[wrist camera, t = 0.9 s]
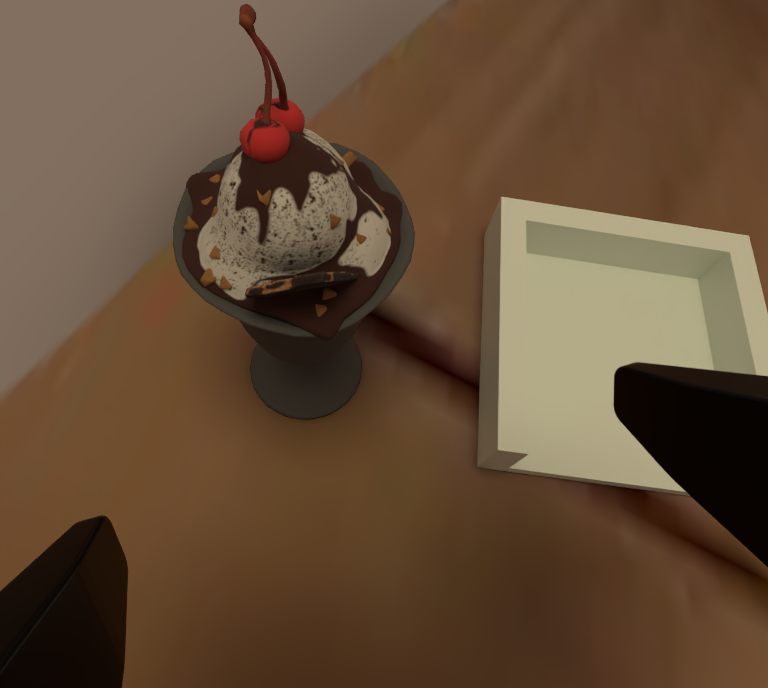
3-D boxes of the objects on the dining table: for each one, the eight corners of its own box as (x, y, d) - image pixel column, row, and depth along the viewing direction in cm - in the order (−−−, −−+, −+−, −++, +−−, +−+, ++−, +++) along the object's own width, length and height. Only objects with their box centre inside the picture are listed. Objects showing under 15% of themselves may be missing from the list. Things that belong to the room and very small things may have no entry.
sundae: (282, 279, 26) (238, -71, 12) (404, 344, 25) (501, 45, 11) (198, 390, 23) (19, 93, 9) (332, 467, 22) (346, 264, 9)
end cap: (754, 504, 23) (811, 492, 20) (477, 467, 23) (497, 449, 20) (708, 269, 29) (748, 235, 26) (484, 235, 28) (501, 196, 25)
